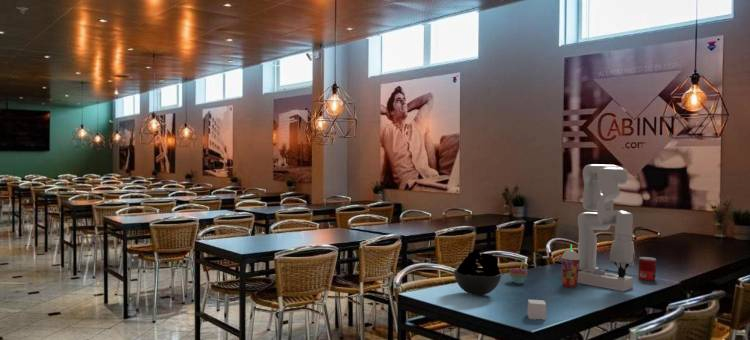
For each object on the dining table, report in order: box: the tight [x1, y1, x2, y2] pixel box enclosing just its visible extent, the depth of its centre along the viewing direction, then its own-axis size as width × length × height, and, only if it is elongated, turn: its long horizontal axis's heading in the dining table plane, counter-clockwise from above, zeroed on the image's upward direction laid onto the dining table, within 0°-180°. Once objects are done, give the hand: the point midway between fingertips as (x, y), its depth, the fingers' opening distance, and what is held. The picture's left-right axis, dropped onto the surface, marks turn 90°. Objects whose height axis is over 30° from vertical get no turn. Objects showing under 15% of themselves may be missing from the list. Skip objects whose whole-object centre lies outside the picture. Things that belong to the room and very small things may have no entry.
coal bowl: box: [453, 249, 502, 297], centre depth 254 cm, size 20×20×19 cm
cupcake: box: [509, 259, 528, 284], centre depth 283 cm, size 9×8×12 cm
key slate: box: [593, 268, 606, 275], centre depth 286 cm, size 4×4×4 cm
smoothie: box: [561, 244, 580, 289], centre depth 279 cm, size 8×8×20 cm
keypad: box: [577, 270, 634, 292], centre depth 284 cm, size 23×11×5 cm, turn 46°
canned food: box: [637, 256, 657, 282], centre depth 302 cm, size 8×8×11 cm
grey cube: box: [526, 299, 547, 321], centre depth 222 cm, size 6×6×6 cm
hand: (621, 276), depth 279 cm, fingers closed
